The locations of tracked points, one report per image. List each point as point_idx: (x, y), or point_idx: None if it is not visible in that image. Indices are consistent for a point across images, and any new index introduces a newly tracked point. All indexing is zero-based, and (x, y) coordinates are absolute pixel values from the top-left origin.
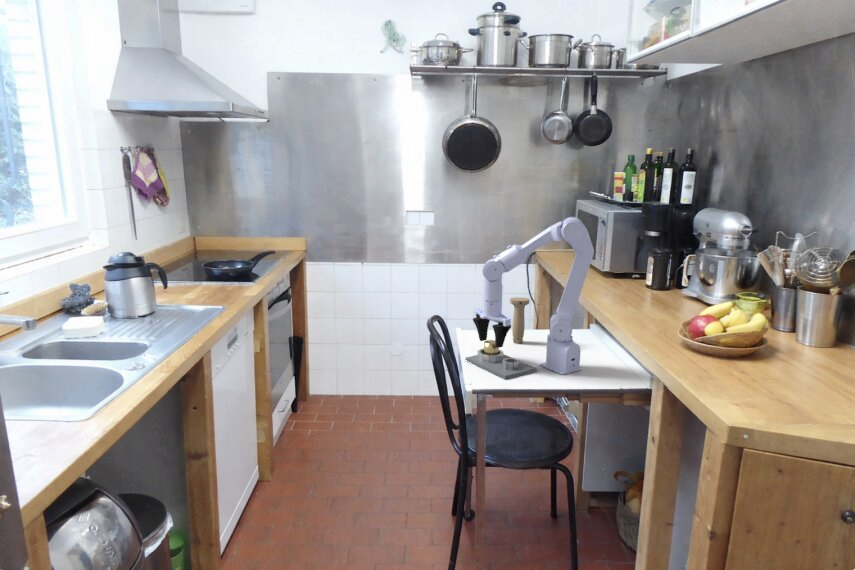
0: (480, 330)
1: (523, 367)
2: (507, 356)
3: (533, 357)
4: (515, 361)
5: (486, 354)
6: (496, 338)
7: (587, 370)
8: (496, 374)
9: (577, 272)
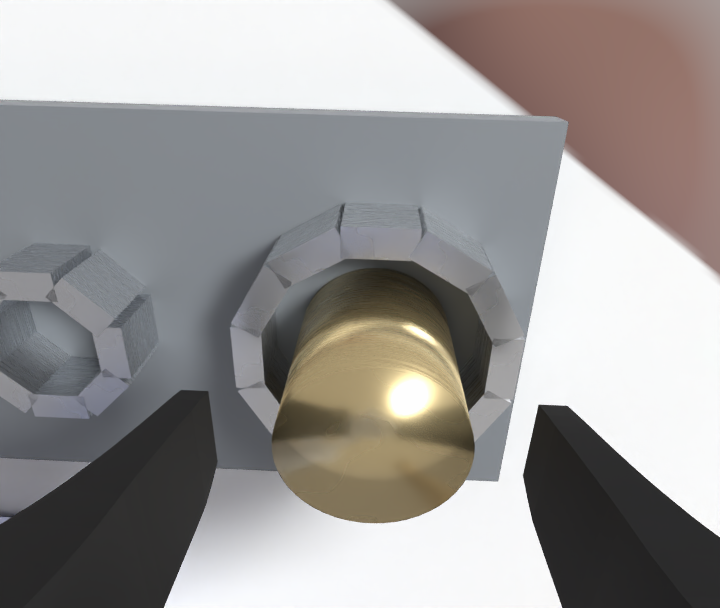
0: (614, 534)
1: None
2: None
3: (266, 585)
4: (46, 386)
5: (361, 294)
6: (102, 472)
7: None
8: (7, 100)
9: None
